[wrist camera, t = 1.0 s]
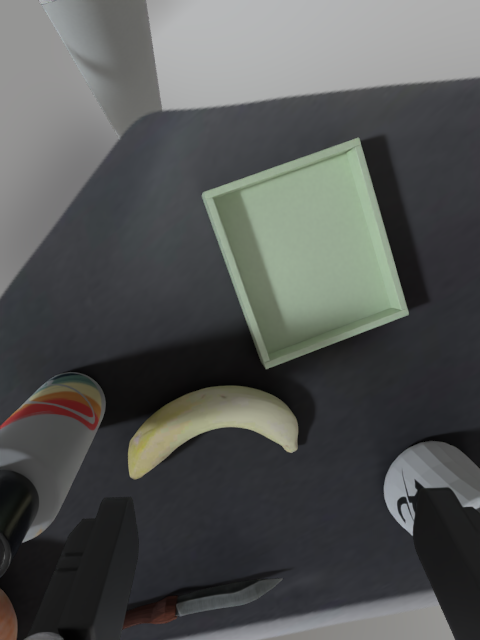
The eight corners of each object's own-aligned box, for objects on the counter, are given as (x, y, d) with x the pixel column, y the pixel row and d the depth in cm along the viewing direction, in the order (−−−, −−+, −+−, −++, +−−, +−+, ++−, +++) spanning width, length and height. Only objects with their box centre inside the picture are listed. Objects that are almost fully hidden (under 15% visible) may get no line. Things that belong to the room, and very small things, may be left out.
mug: (383, 439, 43) (442, 495, 33) (472, 436, 44) (554, 489, 34) (375, 557, 45) (428, 643, 35) (460, 551, 46) (535, 633, 36)
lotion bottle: (76, 357, 38) (-37, 473, 19) (120, 406, 39) (58, 564, 20) (23, 398, 38) (-146, 558, 19) (69, 447, 39) (-45, 645, 20)
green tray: (201, 195, 37) (202, 192, 35) (348, 144, 38) (359, 137, 36) (260, 362, 40) (266, 369, 38) (396, 310, 41) (409, 314, 39)
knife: (279, 563, 44) (286, 586, 41) (282, 577, 44) (289, 601, 41) (87, 610, 42) (80, 637, 39) (90, 624, 42) (84, 652, 39)
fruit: (121, 392, 39) (116, 405, 36) (291, 373, 41) (301, 384, 37) (131, 469, 40) (127, 488, 37) (296, 447, 42) (305, 464, 39)
